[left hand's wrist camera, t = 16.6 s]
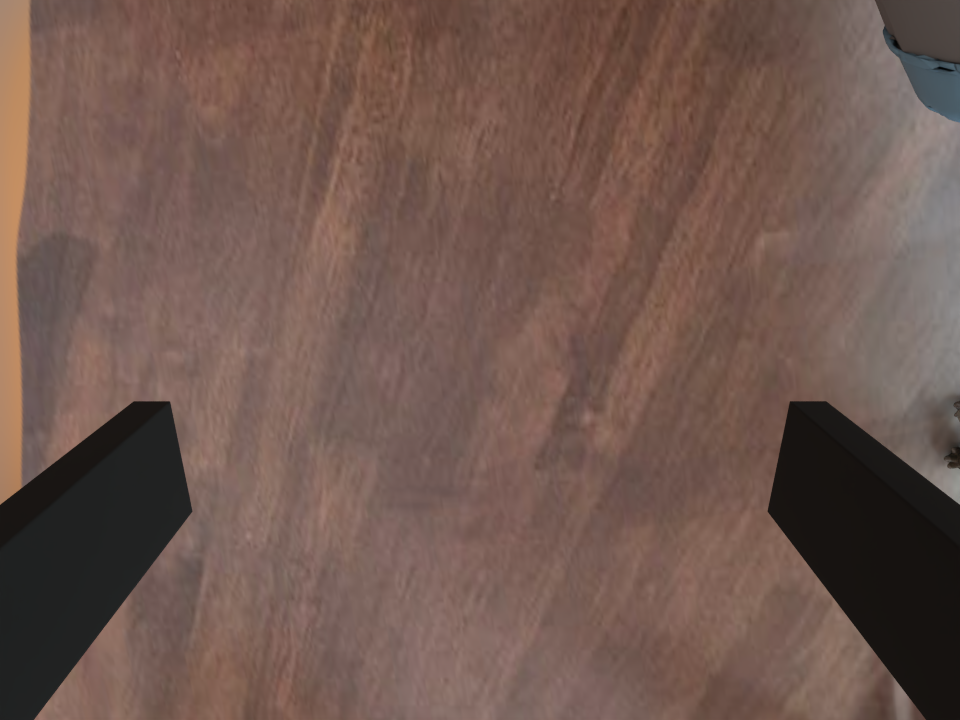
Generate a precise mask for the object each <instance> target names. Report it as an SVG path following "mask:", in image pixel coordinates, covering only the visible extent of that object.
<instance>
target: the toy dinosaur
mask: <svg viewBox="0 0 960 720" xmlns="http://www.w3.org/2000/svg"><path fill="white" fill-rule="evenodd" d="M954 407H956V408H957V409H958V411H957V412H956V413H955V414H954V416H955V417H958V419H959V421H960V401H959V402H956V403H955V404H954ZM951 450H952V454H950V455H948V456H945V457H944V460H946V461H949V464H948V466H947V467H948V468H950V469H951V468H959V469H960V448H957V447H953V448H951Z"/></svg>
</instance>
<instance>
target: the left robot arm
mask: <svg viewBox="0 0 960 720" xmlns="http://www.w3.org/2000/svg"><path fill="white" fill-rule="evenodd" d="M875 1H876V4H877V6H878V9H879V11H880V14H881V17H882V19H883V22H884V24H885V27H884V29H883V35H884V38H885V41H886V44H887V45H888V47H889V49H890V50H891V51H892V52H893V53H894V54H895V55H896V56H898V57H899V58H900V60H901V63H902V65H903V67H904V69H905V71H906V73H907V76H908V78H909V80H910V82H911V84H912V86H913V89H914V91H915V93H916V95H917V96H918V98H919V99H920V101H921V102H922V103H923V104H924V105H925V106H926V107H927V108H928V109H930V110H932V111H934V112H937V113H939V114H940V115H942V116H945V117H946V118H948V119H949V120H952V121H956V122H960V0H875ZM191 513H192V507H191V502H190V497H189V492H188V488H187V483H186V478H185V473H184V468H183V463H182V458H181V453H180V448H179V443H178V438H177V434H176V429H175V424H174V419H173V414H172V409H171V404H170V401H134V402H132V403H131V404H130V405H129V406H127V407H126V408H125V409H123V410H122V411H121V412H120V413H118V414H117V415H116V416H114V417H113V418H112V419H111V420H109V421H108V422H107V423H105V424H104V425H103V426H101V427H100V428H99V429H98V430H96V431H95V432H94V433H92V434H91V435H90V436H89V437H87V438H86V439H85V440H83V441H82V442H81V443H79V444H78V445H77V446H76V447H74V448H73V449H72V450H70V451H69V452H68V453H67V454H65V455H64V456H63V457H61V458H60V459H59V460H58V461H56V462H55V463H54V464H52V465H51V466H50V467H48V468H47V469H46V470H45V471H43V472H42V473H41V474H39V475H38V476H37V477H36V478H34V479H33V480H32V481H30V482H29V483H28V484H27V485H25V486H24V487H23V488H21V489H20V490H19V491H18V492H16V493H15V494H14V495H12V496H11V497H10V498H8V499H7V500H6V501H5V502H3V503H2V504H1V505H0V720H34V719H35V717H36V716H37V715H38V714H39V712H40V711H41V710H42V708H43V707H44V706H45V704H46V703H47V702H48V700H49V699H50V698H51V696H52V695H53V694H54V693H55V691H56V690H57V689H58V687H59V686H60V685H61V683H62V682H63V681H64V679H65V678H66V677H67V675H68V674H69V673H70V672H71V670H72V669H73V668H74V666H75V665H76V664H77V662H78V661H79V660H80V658H81V657H82V656H83V654H84V653H85V652H86V651H87V649H88V648H89V647H90V645H91V644H92V643H93V641H94V640H95V639H96V637H97V636H98V635H99V633H100V632H101V631H102V629H103V628H104V627H105V626H106V624H107V623H108V622H109V620H110V619H111V618H112V616H113V615H114V614H115V612H116V611H117V610H118V608H119V607H120V606H121V605H122V603H123V602H124V601H125V599H126V598H127V597H128V595H129V594H130V593H131V591H132V590H133V589H134V587H135V586H136V585H137V584H138V582H139V581H140V580H141V578H142V577H143V576H144V574H145V573H146V572H147V570H148V569H149V568H150V566H151V565H152V564H153V562H154V561H155V560H156V559H157V557H158V556H159V555H160V553H161V552H162V551H163V549H164V548H165V547H166V545H167V544H168V543H169V541H170V540H171V539H172V538H173V536H174V535H175V534H176V532H177V531H178V530H179V528H180V527H181V526H182V524H183V523H184V522H185V520H186V519H187V518H188V517H189V515H190V514H191ZM768 513H769V514H770V515H771V517H772V518H773V519H774V520H775V522H776V523H777V524H778V526H779V527H780V528H781V530H782V531H783V532H784V534H785V535H786V536H787V538H788V539H789V540H790V541H791V543H792V544H793V545H794V547H795V548H796V549H797V551H798V552H799V553H800V555H801V556H802V557H803V559H804V560H805V561H806V562H807V564H808V565H809V566H810V568H811V569H812V570H813V572H814V573H815V574H816V576H817V577H818V578H819V580H820V581H821V582H822V584H823V585H824V586H825V587H826V589H827V590H828V591H829V593H830V594H831V595H832V597H833V598H834V599H835V601H836V602H837V603H838V605H839V606H840V607H841V608H842V610H843V611H844V612H845V614H846V615H847V616H848V618H849V619H850V620H851V622H852V623H853V624H854V626H855V627H856V628H857V629H858V631H859V632H860V633H861V635H862V636H863V637H864V639H865V640H866V641H867V643H868V644H869V645H870V647H871V648H872V649H873V651H874V652H875V653H876V654H877V656H878V657H879V658H880V660H881V661H882V662H883V664H884V665H885V666H886V668H887V669H888V670H889V672H890V673H891V674H892V675H893V677H894V678H895V679H896V681H897V682H898V683H899V685H900V686H901V687H902V689H903V690H904V691H905V693H906V694H907V695H908V696H909V698H910V699H911V700H912V702H913V703H914V704H915V706H916V707H917V708H918V710H919V711H920V712H921V714H922V715H923V716H924V717H925V719H926V720H960V505H959V504H958V503H957V502H955V501H954V500H953V499H952V498H950V497H949V496H948V495H946V494H945V493H944V492H943V491H941V490H940V489H939V488H937V487H936V486H935V485H933V484H932V483H931V482H930V481H928V480H927V479H926V478H924V477H923V476H922V475H921V474H919V473H918V472H917V471H915V470H914V469H913V468H912V467H910V466H909V465H908V464H906V463H905V462H904V461H902V460H901V459H900V458H899V457H897V456H896V455H895V454H893V453H892V452H891V451H890V450H888V449H887V448H886V447H884V446H883V445H882V444H881V443H879V442H878V441H877V440H875V439H874V438H873V437H871V436H870V435H869V434H868V433H866V432H865V431H864V430H862V429H861V428H860V427H859V426H857V425H856V424H855V423H853V422H852V421H851V420H849V419H848V418H847V417H846V416H844V415H843V414H842V413H840V412H839V411H838V410H837V409H835V408H834V407H833V406H831V405H830V404H829V403H828V402H826V401H790V404H789V409H788V414H787V419H786V424H785V429H784V434H783V438H782V443H781V448H780V453H779V458H778V463H777V468H776V473H775V478H774V483H773V488H772V492H771V497H770V502H769V507H768Z"/></svg>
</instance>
